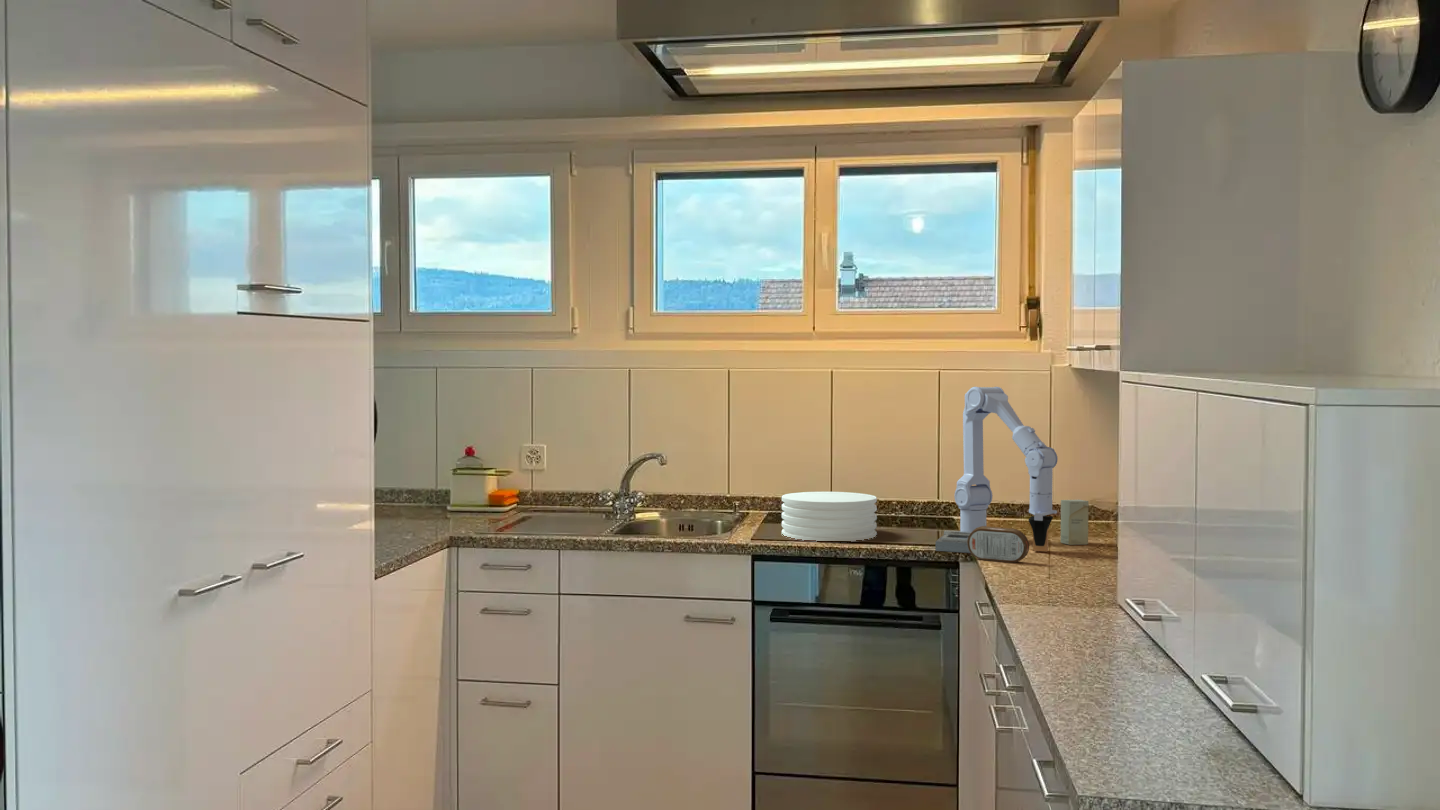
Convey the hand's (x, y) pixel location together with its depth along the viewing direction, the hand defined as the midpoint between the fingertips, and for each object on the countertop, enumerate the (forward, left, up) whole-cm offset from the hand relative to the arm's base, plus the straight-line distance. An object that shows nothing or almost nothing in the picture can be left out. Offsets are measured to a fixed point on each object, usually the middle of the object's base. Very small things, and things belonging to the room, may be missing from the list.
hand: (1040, 544), depth 255 cm
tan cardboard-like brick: (0, 0, -2) cm, 2 cm away
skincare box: (-18, +8, -2) cm, 20 cm away
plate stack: (-8, -60, -2) cm, 61 cm away
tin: (+18, -9, -2) cm, 20 cm away
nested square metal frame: (+3, -21, -2) cm, 21 cm away
